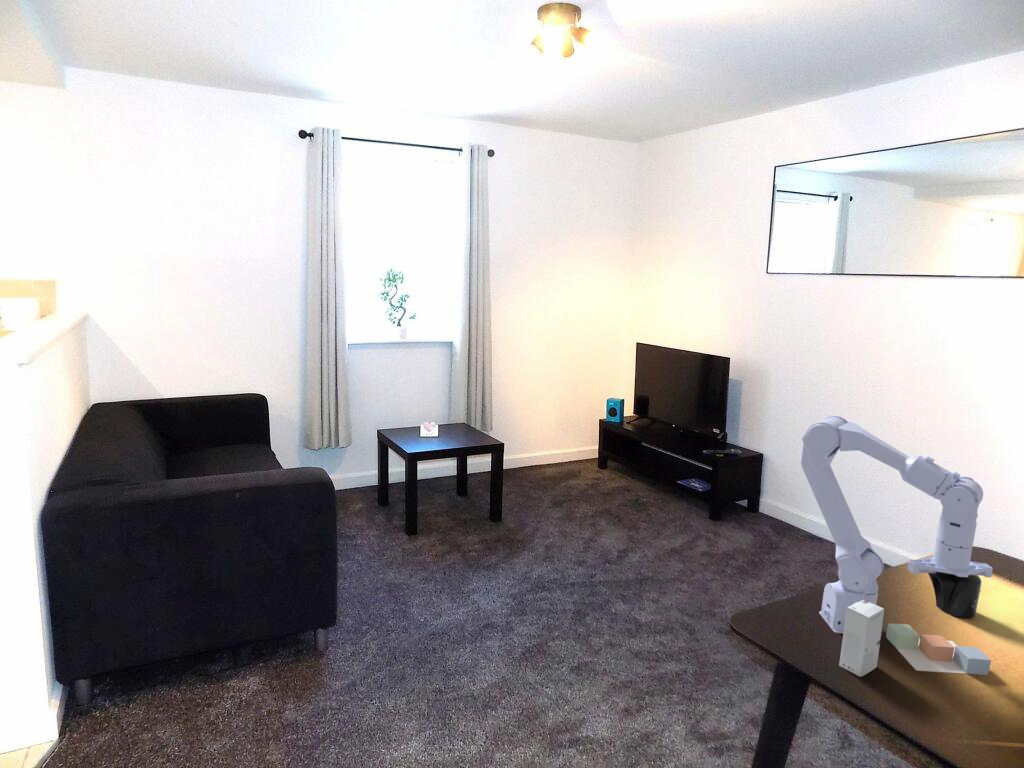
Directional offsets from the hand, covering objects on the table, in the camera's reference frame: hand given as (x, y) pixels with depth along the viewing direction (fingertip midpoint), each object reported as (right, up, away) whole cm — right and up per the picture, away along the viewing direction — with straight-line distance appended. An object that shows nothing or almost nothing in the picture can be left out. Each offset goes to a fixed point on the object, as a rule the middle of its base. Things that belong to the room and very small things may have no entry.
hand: (942, 608), depth 126 cm
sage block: (-5, -9, +5) cm, 11 cm away
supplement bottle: (+15, -7, +19) cm, 25 cm away
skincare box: (-18, -10, -3) cm, 21 cm away
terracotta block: (-1, -9, +1) cm, 10 cm away
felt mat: (-1, -10, +1) cm, 10 cm away
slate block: (+4, -10, -2) cm, 11 cm away
